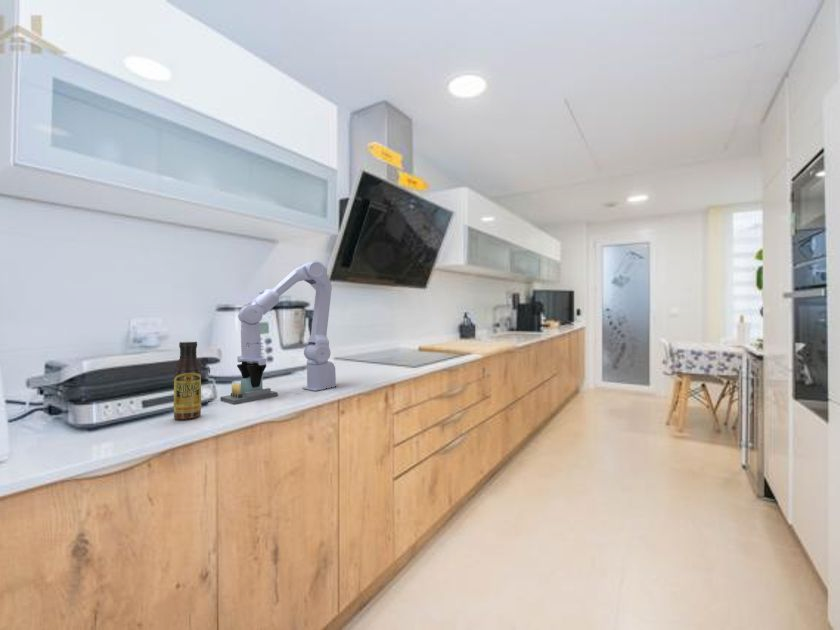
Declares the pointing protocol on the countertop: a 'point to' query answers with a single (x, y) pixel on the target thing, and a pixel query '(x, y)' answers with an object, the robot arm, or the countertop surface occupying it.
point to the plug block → (249, 385)
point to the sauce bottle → (187, 383)
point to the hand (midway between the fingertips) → (252, 386)
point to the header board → (247, 395)
